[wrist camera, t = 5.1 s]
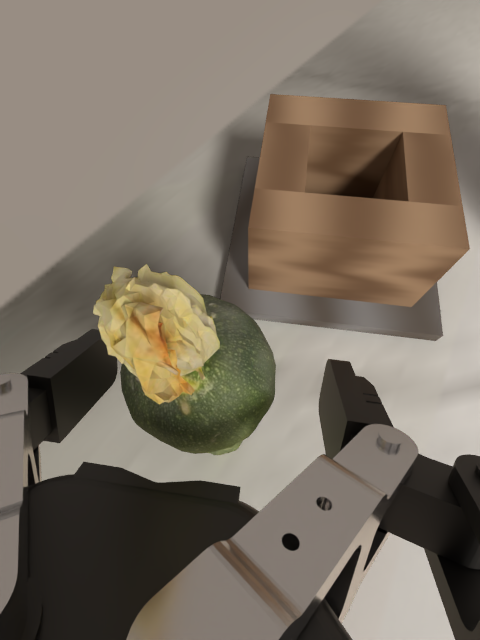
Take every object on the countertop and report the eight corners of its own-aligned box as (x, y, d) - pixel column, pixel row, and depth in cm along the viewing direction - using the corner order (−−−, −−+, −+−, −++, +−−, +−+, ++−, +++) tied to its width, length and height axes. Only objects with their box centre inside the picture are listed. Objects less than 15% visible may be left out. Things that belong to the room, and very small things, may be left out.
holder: (419, 179, 31) (472, 88, 23) (435, 340, 24) (516, 285, 17) (247, 165, 32) (246, 75, 25) (219, 314, 25) (207, 252, 18)
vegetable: (198, 392, 23) (7, 101, 5) (261, 393, 23) (307, 97, 5) (193, 461, 21) (-146, 417, 3) (261, 463, 21) (337, 428, 3)
